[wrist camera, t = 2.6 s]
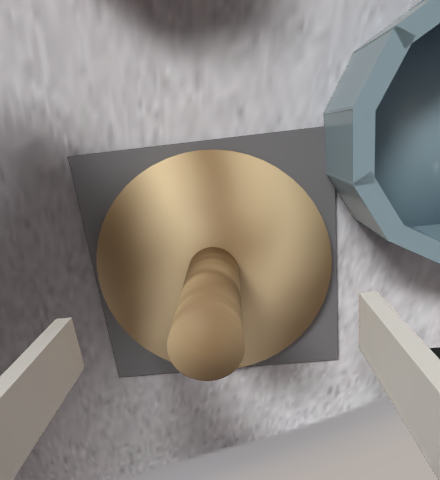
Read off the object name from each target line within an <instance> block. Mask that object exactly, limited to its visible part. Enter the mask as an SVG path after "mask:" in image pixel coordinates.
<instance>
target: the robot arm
mask: <svg viewBox="0 0 440 480" xmlns="http://www.w3.org/2000/svg"><path fill="white" fill-rule="evenodd" d="M359 348H360V350H361V351H362V353H363V355H364V356H365V358H366V360H367V361H368V363H369V365H370V366H371V368H372V370H373V371H374V373H375V375H376V376H377V378H378V380H379V381H380V383H381V385H382V386H383V388H384V390H385V391H386V393H387V395H388V396H389V398H390V400H391V401H392V403H393V405H394V406H395V408H396V410H397V411H398V413H399V415H400V416H401V418H402V420H403V422H404V423H405V425H406V426H407V428H408V430H409V431H410V433H411V435H412V437H413V438H414V440H415V441H416V443H417V445H418V446H419V448H420V450H421V452H422V453H423V455H424V457H425V458H426V460H427V461H428V463H429V465H430V467H431V468H432V470H433V472H434V473H435V475H436V477H437V478H438V480H440V348H429V347H428V346H427V345H426V344H425V343H424V342H423V341H422V340H421V339H420V338H419V336H418V335H417V334H416V333H415V332H414V331H413V330H412V329H411V328H410V327H409V326H408V325H407V324H406V322H405V321H404V320H403V319H402V318H401V317H400V316H399V315H398V314H397V313H396V312H395V311H394V310H393V308H392V307H391V306H390V305H389V304H388V303H387V302H386V301H385V300H384V299H383V298H382V297H381V296H380V294H379V293H378V292H377V291H371V292H360V293H359ZM84 368H85V367H84V363H83V359H82V355H81V351H80V347H79V343H78V339H77V336H76V332H75V328H74V324H73V320H72V317H70V318H59V319H55V320H54V321H53V322H52V323H51V324H50V325H49V326H48V327H47V329H46V330H45V331H44V332H43V333H42V334H41V335H40V336H39V337H38V338H37V339H36V340H35V341H34V342H33V343H32V344H31V345H30V346H29V347H28V348H27V349H26V350H25V351H24V352H23V353H22V354H21V355H20V356H19V357H18V359H17V360H16V361H15V362H14V363H13V364H12V365H11V366H10V367H9V368H8V369H7V370H6V371H5V372H4V373H3V374H2V375H1V376H0V480H14V478H15V476H16V475H17V473H18V472H19V470H20V469H21V467H22V465H23V464H24V462H25V461H26V459H27V458H28V456H29V454H30V453H31V451H32V450H33V448H34V447H35V445H36V443H37V442H38V440H39V439H40V437H41V436H42V434H43V432H44V431H45V429H46V428H47V426H48V425H49V423H50V422H51V420H52V418H53V417H54V415H55V414H56V412H57V411H58V409H59V407H60V406H61V404H62V403H63V401H64V400H65V398H66V396H67V395H68V393H69V392H70V390H71V389H72V387H73V385H74V384H75V382H76V381H77V379H78V378H79V376H80V374H81V373H82V371H83V370H84Z"/></svg>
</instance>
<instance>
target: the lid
mask: <svg viewBox="0 0 440 480" xmlns="http://www.w3.org/2000/svg"><path fill="white" fill-rule="evenodd" d="M96 256H97V273H98V279H99V284H100V287H101V290H102V293H103V296H104V299H105V301H106V303H107V305H108V307H109V309H110V311H111V312H112V314H113V316H114V317H115V319H116V320H117V322H118V323H119V324H120V325H121V327H122V328H123V329H124V330H125V331H126V332H127V333H128V334H129V335H130V336H131V337H132V338H133V339H134V340H135V341H136V342H137V343H139V344H140V345H141V346H143V347H144V348H145V349H147V350H149V351H150V352H152V353H154V354H155V355H157V356H159V357H161V358H163V359H166V360H168V361H170V362H172V364H173V365H174V366H175V368H176V369H177V370H178V371H180V372H181V373H182V374H184V375H186V376H188V377H190V378H193V379H196V380H201V381H212V380H218V379H221V378H224V377H226V376H228V375H229V374H231V373H232V372H233V371H235V370H236V369H237V368H241V367H245V366H249V365H252V364H255V363H258V362H261V361H263V360H266V359H268V358H270V357H272V356H274V355H276V354H277V353H279V352H281V351H282V350H284V349H285V348H286V347H288V346H289V345H291V344H292V343H293V342H294V341H295V340H296V339H298V338H299V337H300V336H301V335H302V334H303V332H304V331H305V330H306V329H307V328H308V327H309V326H310V324H311V323H312V321H313V320H314V318H315V317H316V315H317V314H318V312H319V310H320V308H321V306H322V304H323V302H324V299H325V296H326V294H327V291H328V288H329V282H330V277H331V267H332V255H331V245H330V240H329V236H328V232H327V229H326V226H325V224H324V221H323V219H322V216H321V214H320V213H319V211H318V209H317V207H316V205H315V204H314V202H313V201H312V200H311V198H310V197H309V196H308V194H307V193H306V192H305V191H304V189H303V188H302V187H301V186H299V185H298V184H297V183H296V182H295V181H294V180H293V179H292V178H291V177H289V176H288V175H287V174H285V173H284V172H283V171H281V170H280V169H279V168H277V167H275V166H273V165H271V164H270V163H268V162H266V161H264V160H262V159H259V158H256V157H254V156H251V155H248V154H244V153H240V152H236V151H230V150H219V149H210V150H197V151H191V152H186V153H182V154H179V155H176V156H173V157H170V158H167V159H165V160H163V161H161V162H159V163H157V164H155V165H152V166H151V167H149V168H148V169H146V170H145V171H143V172H142V173H140V174H139V175H137V176H136V177H135V178H134V179H133V180H132V181H131V182H130V183H129V184H127V185H126V186H125V188H124V189H123V190H122V191H121V192H120V194H119V195H118V196H117V197H116V199H115V200H114V202H113V204H112V205H111V207H110V208H109V210H108V212H107V214H106V217H105V219H104V221H103V224H102V227H101V230H100V234H99V238H98V245H97V253H96Z"/></svg>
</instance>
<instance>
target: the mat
mask: <svg viewBox="0 0 440 480" xmlns="http://www.w3.org/2000/svg"><path fill="white" fill-rule="evenodd" d="M210 149H219V150H230V151H236V152H240V153H244V154H248V155H251V156H254V157H256V158H259V159H262V160H264V161H266V162H268V163H270V164H271V165H273V166H275V167H277V168H279V169H280V170H281V171H283V172H284V173H285V174H287V175H288V176H289V177H291V178H292V179H293V180H294V181H295V182H296V183H297V184H298V185H299V186H301V187H302V188H303V189H304V191H305V192H306V193H307V194H308V196H309V197H310V198H311V200H312V201H313V202H314V204H315V205H316V207H317V209H318V211H319V213H320V214H321V216H322V219H323V221H324V224H325V226H326V229H327V232H328V236H329V240H330V245H331V255H332V267H331V277H330V282H329V288H328V291H327V294H326V296H325V299H324V302H323V304H322V306H321V308H320V310H319V312H318V314H317V315H316V317H315V318H314V320H313V321H312V323H311V324H310V326H309V327H308V328H307V329H306V330H305V331H304V332H303V334H302V335H301V336H300V337H299V338H298V339H296V340H295V341H294V342H293V343H292V344H291V345H289V346H288V347H286V348H285V349H284V350H282V351H281V352H279V353H277V354H276V355H274V356H272V357H270V358H268V359H266V360H263V361H261V362H258V363H255V364H252V365H249V366H245V367H251V366H263V365H275V364H287V363H300V362H312V361H324V360H336V359H338V328H337V269H336V211H335V186H334V185H333V183H332V181H331V180H330V178H329V177H328V175H327V174H326V132H325V127H316V128H307V129H299V130H290V131H282V132H273V133H265V134H256V135H248V136H239V137H231V138H222V139H214V140H205V141H197V142H188V143H180V144H171V145H163V146H154V147H145V148H137V149H128V150H120V151H111V152H103V153H94V154H86V155H77V156H69V157H68V161H69V165H70V169H71V174H72V178H73V182H74V186H75V191H76V195H77V199H78V204H79V208H80V212H81V216H82V221H83V225H84V229H85V233H86V238H87V242H88V246H89V251H90V255H91V259H92V263H93V268H94V272H95V276H96V281H97V285H98V289H99V293H100V298H101V302H102V306H103V310H104V315H105V319H106V323H107V328H108V332H109V336H110V340H111V345H112V349H113V353H114V357H115V362H116V366H117V370H118V375H119V377H130V376H142V375H154V374H166V373H178V372H180V371H178V370H177V369H176V368H175V366H174V365H173V364H172V362H170V361H168V360H166V359H163V358H161V357H159V356H157V355H155V354H154V353H152V352H150V351H149V350H147V349H145V348H144V347H143V346H141V345H140V344H139V343H137V342H136V341H135V340H134V339H133V338H132V337H131V336H130V335H129V334H128V333H127V332H126V331H125V330H124V329H123V328H122V327H121V325H120V324H119V323H118V322H117V320H116V319H115V317H114V316H113V314H112V312H111V311H110V309H109V307H108V305H107V303H106V301H105V299H104V296H103V293H102V290H101V287H100V284H99V279H98V273H97V256H96V253H97V245H98V238H99V234H100V230H101V227H102V224H103V221H104V219H105V217H106V214H107V212H108V210H109V208H110V207H111V205H112V204H113V202H114V200H115V199H116V197H117V196H118V195H119V194H120V192H121V191H122V190H123V189H124V188H125V186H126V185H127V184H129V183H130V182H131V181H132V180H133V179H134V178H135V177H136V176H137V175H139V174H140V173H142V172H143V171H145V170H146V169H148V168H149V167H151V166H152V165H155V164H157V163H159V162H161V161H163V160H165V159H167V158H170V157H173V156H176V155H179V154H182V153H186V152H191V151H197V150H210Z"/></svg>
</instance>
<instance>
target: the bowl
mask: <svg viewBox="0 0 440 480" xmlns="http://www.w3.org/2000/svg"><path fill="white" fill-rule="evenodd" d="M324 127H325V132H326V174H327V175H328V177H329V178H330V180H331V181H332V183H333V185H334V186H335V189H336V191H337V192H338V194H339V195H340V197H341V198H342V200H343V202H344V203H345V205H346V206H347V208H348V209H349V211H350V212H351V214H352V215H353V218H354V219H356V220H357V221H359V222H360V223H362V224H363V225H365V226H366V227H368V228H369V229H371V230H372V231H374V232H375V233H377V234H378V235H380V236H381V237H382V238H384V239H385V240H387V241H388V242H392V243H394V244H396V245H398V246H401V247H403V248H405V249H407V250H410V251H412V252H414V253H416V254H419V255H421V256H423V257H425V258H428V259H430V260H432V261H434V262H437V263H439V264H440V0H423V1H421V2H420V3H418V4H417V5H415V6H414V7H413V8H411V9H410V10H409V11H408V12H407V13H405V14H404V15H403V16H401V17H400V18H399V19H397V20H396V21H395V22H393V23H392V24H391V25H389V26H388V27H387V28H385V29H384V30H383V31H381V32H380V33H379V34H377V35H376V36H375V37H374V38H372V39H371V40H370V41H368V42H367V43H366V44H364V45H363V46H362V47H360V48H359V49H357V50H356V51H354V53H353V55H352V57H351V59H350V61H349V63H348V65H347V67H346V69H345V71H344V73H343V75H342V77H341V79H340V81H339V83H338V85H337V87H336V89H335V91H334V93H333V96H332V98H331V100H330V102H329V104H328V106H327V108H326V110H325V112H324Z"/></svg>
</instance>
